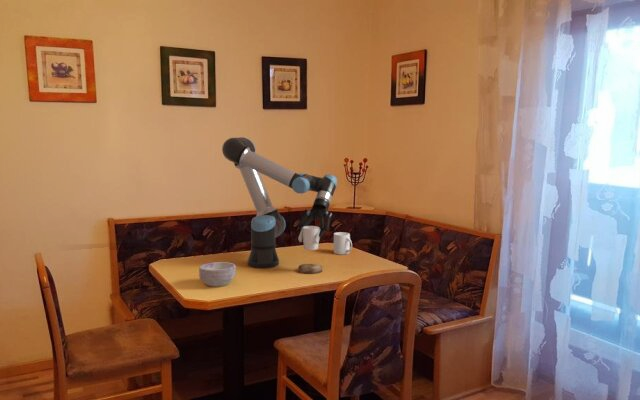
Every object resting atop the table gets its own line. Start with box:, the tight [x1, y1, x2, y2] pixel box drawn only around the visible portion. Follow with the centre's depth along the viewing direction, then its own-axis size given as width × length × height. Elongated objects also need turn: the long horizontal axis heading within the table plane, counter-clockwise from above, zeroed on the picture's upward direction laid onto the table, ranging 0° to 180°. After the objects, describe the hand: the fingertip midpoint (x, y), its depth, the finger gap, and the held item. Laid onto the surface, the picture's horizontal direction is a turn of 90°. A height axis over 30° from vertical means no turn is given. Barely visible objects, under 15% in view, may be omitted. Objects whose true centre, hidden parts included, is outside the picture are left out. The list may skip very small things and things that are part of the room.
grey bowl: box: [198, 261, 237, 287], centre depth 218 cm, size 15×15×8 cm
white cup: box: [302, 225, 321, 251], centre depth 239 cm, size 8×8×10 cm
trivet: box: [298, 263, 323, 275], centre depth 241 cm, size 11×11×2 cm
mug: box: [333, 231, 353, 256], centre depth 276 cm, size 9×12×11 cm
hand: (307, 241), depth 236 cm, fingers closed on white cup, 8 cm apart
